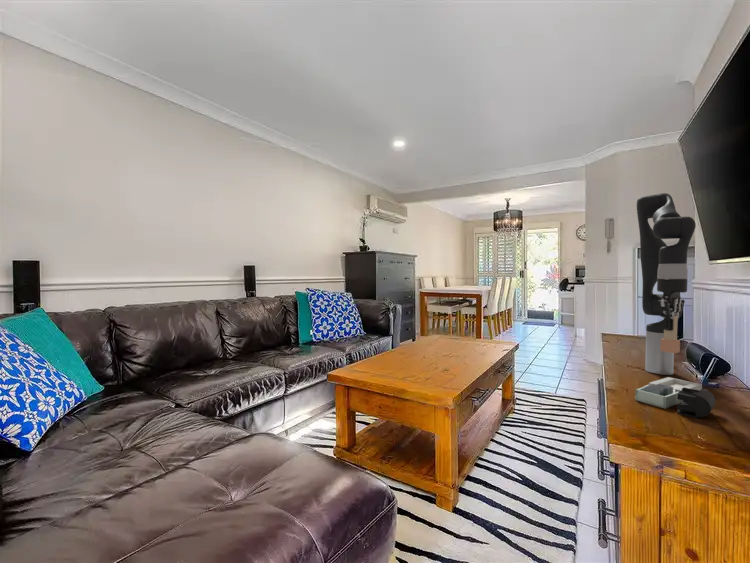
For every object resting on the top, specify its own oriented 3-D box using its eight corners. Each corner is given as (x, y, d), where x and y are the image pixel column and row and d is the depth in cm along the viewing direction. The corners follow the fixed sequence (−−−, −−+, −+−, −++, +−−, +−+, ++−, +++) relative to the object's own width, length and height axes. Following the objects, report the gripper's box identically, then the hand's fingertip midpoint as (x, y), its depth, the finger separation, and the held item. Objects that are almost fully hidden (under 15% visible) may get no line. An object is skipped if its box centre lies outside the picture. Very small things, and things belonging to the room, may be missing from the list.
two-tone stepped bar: (664, 349, 115) (665, 314, 115) (679, 352, 112) (680, 316, 111) (660, 350, 114) (661, 315, 113) (675, 353, 110) (676, 316, 110)
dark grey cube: (650, 385, 112) (644, 386, 110) (665, 388, 109) (659, 390, 107) (650, 397, 112) (644, 399, 110) (665, 401, 109) (659, 403, 107)
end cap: (710, 422, 94) (711, 398, 94) (676, 414, 100) (677, 391, 100) (715, 413, 100) (716, 390, 100) (683, 406, 106) (683, 384, 106)
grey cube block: (658, 395, 114) (658, 383, 114) (673, 399, 110) (673, 387, 110) (652, 397, 112) (652, 385, 112) (667, 401, 108) (667, 389, 108)
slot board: (663, 386, 125) (663, 376, 125) (707, 397, 114) (707, 385, 114) (643, 393, 117) (643, 381, 117) (688, 404, 107) (688, 392, 107)
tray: (650, 395, 116) (650, 384, 116) (680, 402, 109) (680, 391, 109) (635, 400, 111) (635, 389, 110) (665, 408, 104) (665, 397, 104)
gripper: (667, 277, 119) (666, 327, 119) (648, 277, 112) (647, 329, 112) (695, 278, 112) (694, 330, 113) (677, 277, 106) (675, 333, 106)
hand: (670, 329), depth 113 cm, fingers closed on two-tone stepped bar, 2 cm apart
